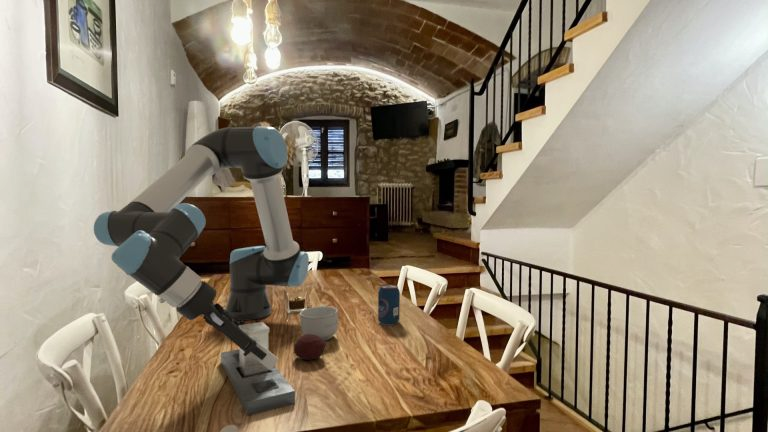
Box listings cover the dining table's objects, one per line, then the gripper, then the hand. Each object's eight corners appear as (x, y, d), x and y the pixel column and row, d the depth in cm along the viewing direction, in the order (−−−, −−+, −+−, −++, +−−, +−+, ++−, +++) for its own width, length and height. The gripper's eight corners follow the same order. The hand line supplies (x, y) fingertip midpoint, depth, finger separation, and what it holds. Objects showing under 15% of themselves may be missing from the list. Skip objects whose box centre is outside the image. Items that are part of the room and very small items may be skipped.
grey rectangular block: (238, 379, 90) (238, 325, 90) (263, 373, 93) (262, 321, 93) (243, 388, 86) (243, 332, 85) (269, 383, 89) (269, 328, 88)
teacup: (330, 346, 111) (330, 317, 111) (293, 342, 113) (293, 314, 113) (345, 329, 125) (345, 304, 124) (312, 327, 127) (312, 302, 127)
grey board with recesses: (220, 362, 99) (220, 352, 99) (258, 355, 104) (258, 345, 104) (247, 415, 75) (247, 401, 75) (294, 403, 80) (294, 390, 80)
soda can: (373, 322, 133) (373, 285, 132) (389, 318, 137) (389, 282, 137) (387, 327, 127) (388, 289, 127) (403, 323, 132) (404, 286, 132)
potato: (302, 367, 97) (302, 342, 97) (288, 356, 104) (288, 333, 103) (329, 360, 101) (329, 336, 101) (314, 350, 108) (314, 327, 108)
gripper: (170, 296, 91) (242, 352, 99) (179, 324, 71) (269, 391, 80) (195, 270, 93) (264, 327, 102) (212, 291, 73) (295, 359, 82)
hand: (266, 355), depth 91 cm, fingers open, 11 cm apart
